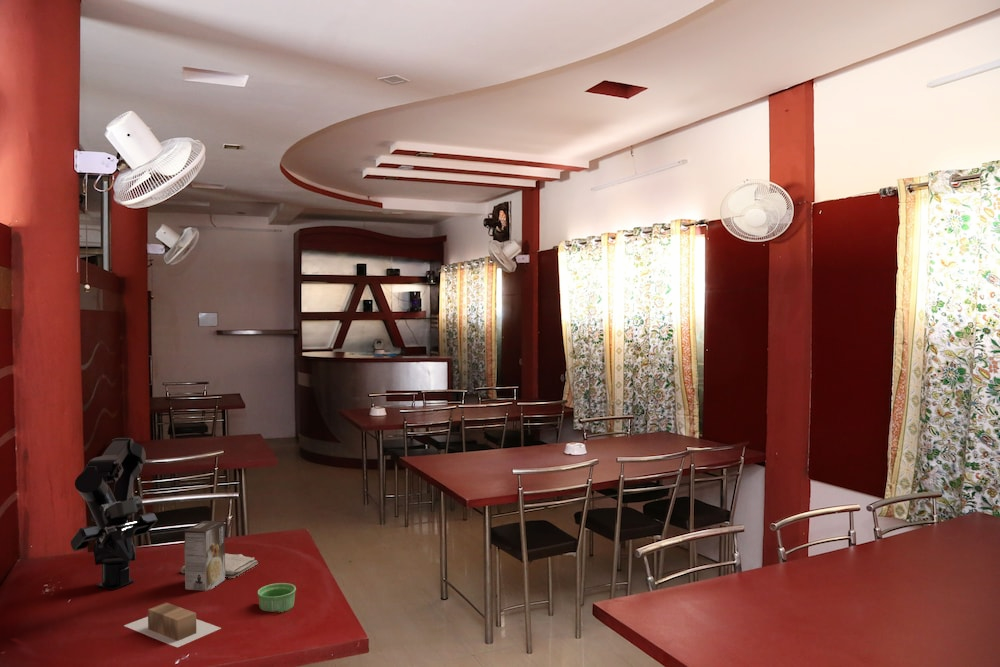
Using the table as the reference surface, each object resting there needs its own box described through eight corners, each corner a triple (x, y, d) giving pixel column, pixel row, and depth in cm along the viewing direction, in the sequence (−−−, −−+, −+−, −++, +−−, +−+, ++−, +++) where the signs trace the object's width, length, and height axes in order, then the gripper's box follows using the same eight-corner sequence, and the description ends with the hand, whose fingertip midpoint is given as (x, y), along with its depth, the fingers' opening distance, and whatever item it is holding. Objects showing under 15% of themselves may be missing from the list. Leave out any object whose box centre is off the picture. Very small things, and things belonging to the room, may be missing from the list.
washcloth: (235, 580, 191) (235, 569, 191) (178, 575, 195) (178, 564, 195) (260, 566, 203) (260, 555, 202) (205, 561, 207) (205, 550, 207)
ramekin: (303, 603, 175) (303, 586, 175) (278, 617, 167) (278, 599, 167) (275, 597, 179) (275, 580, 179) (249, 611, 171) (249, 593, 170)
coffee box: (204, 578, 191) (203, 519, 191) (226, 580, 190) (225, 521, 190) (184, 591, 182) (183, 530, 182) (207, 593, 181) (206, 531, 181)
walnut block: (147, 609, 159) (177, 620, 153) (166, 602, 163) (196, 613, 157) (148, 629, 159) (177, 640, 153) (166, 621, 163) (196, 633, 157)
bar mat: (123, 628, 161) (123, 625, 161) (168, 611, 170) (168, 608, 170) (177, 650, 150) (177, 647, 150) (221, 630, 160) (221, 628, 160)
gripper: (79, 493, 161) (107, 551, 156) (154, 480, 177) (181, 531, 172) (58, 522, 165) (84, 579, 159) (133, 506, 181) (159, 557, 176)
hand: (129, 560), depth 166 cm, fingers closed
